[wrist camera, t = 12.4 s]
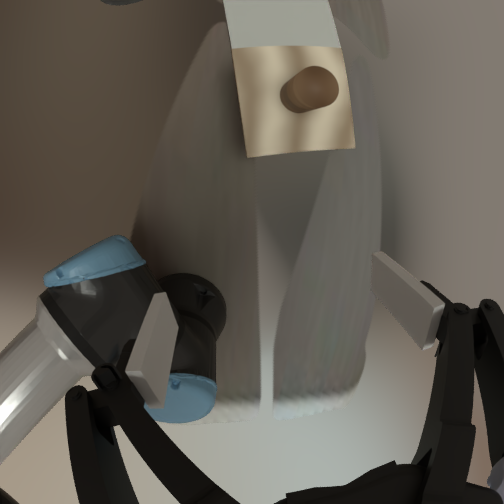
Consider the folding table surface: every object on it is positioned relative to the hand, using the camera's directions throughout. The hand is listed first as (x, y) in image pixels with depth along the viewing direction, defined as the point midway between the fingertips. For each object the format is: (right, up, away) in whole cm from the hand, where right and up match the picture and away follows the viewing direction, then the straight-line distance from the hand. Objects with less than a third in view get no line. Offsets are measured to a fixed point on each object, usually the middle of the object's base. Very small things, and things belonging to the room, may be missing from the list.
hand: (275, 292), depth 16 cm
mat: (+3, +42, +15) cm, 44 cm away
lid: (+4, +21, +13) cm, 25 cm away
